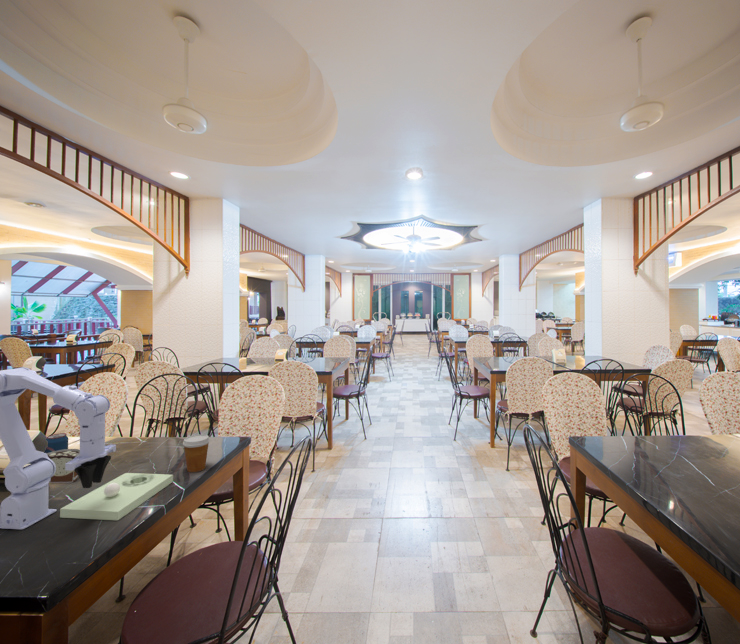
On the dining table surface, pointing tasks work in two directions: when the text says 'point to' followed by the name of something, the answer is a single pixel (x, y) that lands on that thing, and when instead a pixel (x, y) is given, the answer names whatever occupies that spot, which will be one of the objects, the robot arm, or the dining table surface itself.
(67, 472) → the food container
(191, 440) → the disposable coffee cup
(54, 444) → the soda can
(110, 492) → the ball
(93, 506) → the putting deck
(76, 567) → the dining table surface
